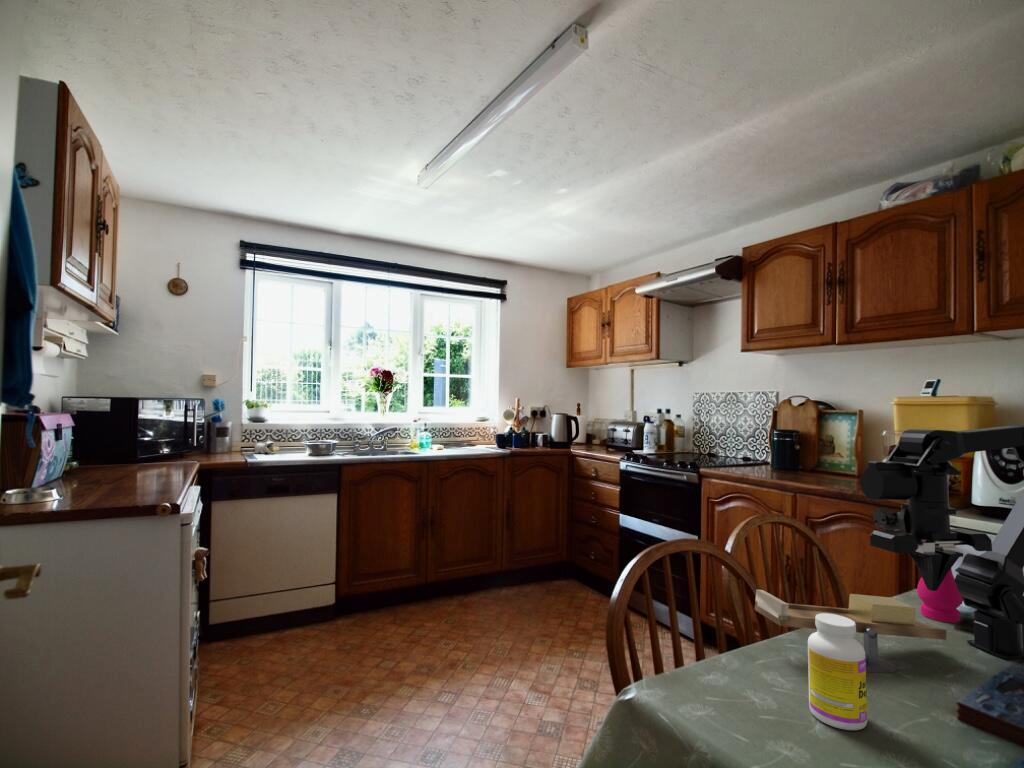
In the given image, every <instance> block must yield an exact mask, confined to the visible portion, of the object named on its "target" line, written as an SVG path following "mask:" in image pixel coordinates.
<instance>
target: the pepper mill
mask: <svg viewBox="0 0 1024 768" xmlns="http://www.w3.org/2000/svg"><path fill="white" fill-rule="evenodd" d="M922 541H925V540H922ZM954 547H955V548H956V545H954ZM916 587H917V589H916V594H917V596H918V597H919V599H920V600H921V601H922V603H921V604H920V614H921V615H922V616H923V617H925V618H928V619H929V620H934V621H937V622H941V623H942V622H943V623H951V624H952V623H953V624H956V623H960V622H961V611H960V610H959V609H957V608H959V607H960V606H961V605H962V604H963V603H964V602H963V599H962V597H961V594H960V593H959V591H958V589H957V586H956V584H955V576H954V574H953V570H952V568H951V569H950V570H949V572H948V573H947V575H946V577H945V578H944V580H943V581H942V583H941V585H940V586H939V588H938V590H937V591H930V590H928V589H927V587H926V585H925V583H924V581H923V578H922V576H921V577H920V579H919V581H918V584H917V586H916ZM959 621H960V622H959Z"/></svg>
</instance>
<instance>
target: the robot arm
mask: <svg viewBox="0 0 1024 768" xmlns="http://www.w3.org/2000/svg"><path fill="white" fill-rule="evenodd" d="M1004 449H1013V453H1014V456H1015V458H1016V459H1017V460H1019V462H1021V463H1022V464H1023V465H1024V423H1010V424H1009V425H1003V426H993V427H982V428H974V429H965V430H947V429H926V428H925V429H921V428H919V429H918V428H910V429H906V430H904V431H902V434H901V436H900V437H899V439H898V442H897V444H896V445H895V446H894V448H893V449H892V451H891V453H890V454H889V455H888V457H887V458H886V459H885V461H876V460H869V461H868V462H867V466H868V467H867V468H866V469H864V470H863V472H862V474H861V477H860V479H859V482H860V489H861V491H862V493H863V494H864V496H865V497H866V498H868V499H869V500H871V501H907V503H902V504H901V506H900V511H897V512H891V511H890V510H889V509H888V508H877V509H874V510H873V522H874V525H875V526H876V527H877V528H883V529H877V530H876V529H874V530H873V531H872V532H871V533H870V534H869V542H870V543H869V545H870V546H872V547H875V548H877V549H881V550H884V551H888V552H891V553H894V554H908V555H909V557H911V558H912V560H913V561H914V563H915V565H916V567H917V569H918V572H919V573H920V575H921V577H922V578H923V581H924V583H925V585H926V587H927V589H928V590H930V591H937V590H938V588H939V586H940V585H941V583H942V581H943V580H944V578H945V577H946V575H947V573H948V572H949V570H950V569H952V568H953V566H955V563H956V562H957V561H958V560H959V558H961V557H963V559H962V562H961V564H960V565H959V566H958V567H957V568H955V569H954V571H955V573H956V575H955V576H954V578H955V584H956V586H957V589H958V591H959V593H960V594H961V597H962V599H963V602H962V603H963V604H964V606H966V607H969V608H972V609H975V610H974V620H973V638H974V639H967V640H966V642H967V644H969V645H972V646H974V647H976V648H978V649H980V650H983V651H985V652H987V653H988V654H989V653H990V654H992V655H993V656H996V657H998V658H1001V659H1004V660H1010V659H1024V658H1023V657H1024V653H1023V648H1024V570H1023V569H1024V490H1022V493H1021V494H1020V496H1019V498H1018V499H1017V501H1016V502H1015V504H1014V506H1013V507H1012V509H1011V511H1010V512H1009V514H1008V516H1007V517H1006V519H1005V520H1004V522H1003V524H1002V526H1001V527H1000V529H999V530H998V532H997V534H996V536H995V537H994V539H993V540H992V539H991V538H990V536H988V535H987V533H985V532H980V531H975V530H971V529H966V528H962V527H960V528H958V527H956V528H951V520H950V519H951V518H950V517H951V515H952V516H953V515H957V508H953V507H950V498H949V494H950V493H949V478H948V477H949V476H959V475H961V471H960V470H959V469H957V468H956V467H954V466H953V465H952V464H951V461H954V460H957V459H960V458H961V457H963V456H964V455H966V454H969V453H970V454H971V453H976V452H985V451H994V450H1004ZM1022 474H1023V476H1024V469H1023V470H1022ZM922 540H925V541H922ZM954 545H955V547H954ZM956 546H969V547H972V548H973V549H974V550H975V551H977V552H983V553H982V554H978V555H977V554H973V553H969V552H968V553H966V554H965V555H964V553H963V552H960V551H956Z"/></svg>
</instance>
